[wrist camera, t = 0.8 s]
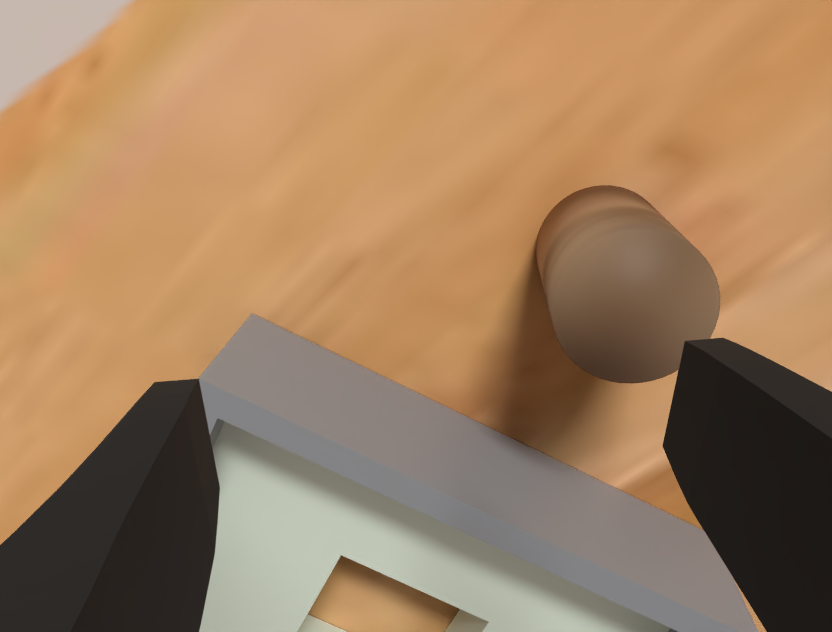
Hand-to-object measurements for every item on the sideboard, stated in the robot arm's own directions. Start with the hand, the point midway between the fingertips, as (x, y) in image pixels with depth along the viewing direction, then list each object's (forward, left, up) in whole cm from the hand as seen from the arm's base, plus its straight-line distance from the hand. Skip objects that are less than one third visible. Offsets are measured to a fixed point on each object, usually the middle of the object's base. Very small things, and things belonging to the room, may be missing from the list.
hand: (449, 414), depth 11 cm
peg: (-5, -1, -15) cm, 16 cm away
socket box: (-5, +16, -15) cm, 23 cm away
